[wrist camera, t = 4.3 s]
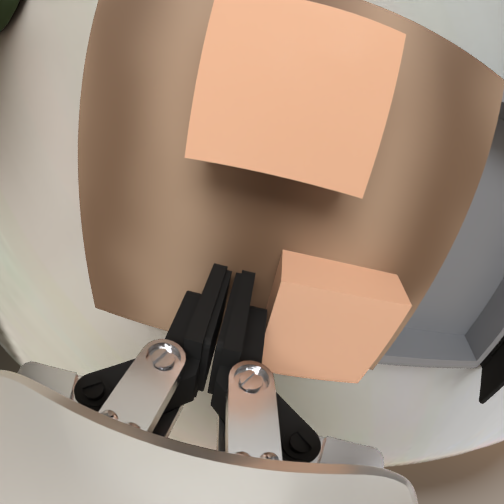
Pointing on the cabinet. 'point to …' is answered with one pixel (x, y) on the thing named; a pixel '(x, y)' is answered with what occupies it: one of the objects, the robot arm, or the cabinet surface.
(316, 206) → the board
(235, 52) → the tile
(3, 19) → the character mug
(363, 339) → the tile
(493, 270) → the box
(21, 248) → the cabinet surface
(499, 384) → the black sloped piece
